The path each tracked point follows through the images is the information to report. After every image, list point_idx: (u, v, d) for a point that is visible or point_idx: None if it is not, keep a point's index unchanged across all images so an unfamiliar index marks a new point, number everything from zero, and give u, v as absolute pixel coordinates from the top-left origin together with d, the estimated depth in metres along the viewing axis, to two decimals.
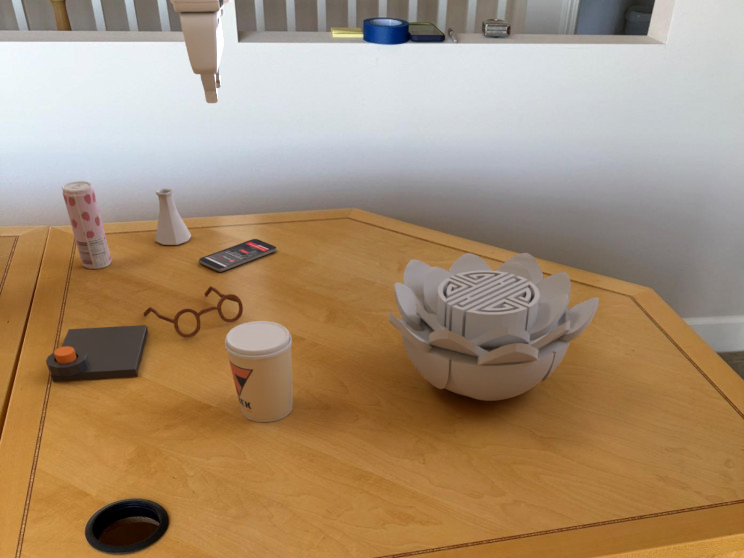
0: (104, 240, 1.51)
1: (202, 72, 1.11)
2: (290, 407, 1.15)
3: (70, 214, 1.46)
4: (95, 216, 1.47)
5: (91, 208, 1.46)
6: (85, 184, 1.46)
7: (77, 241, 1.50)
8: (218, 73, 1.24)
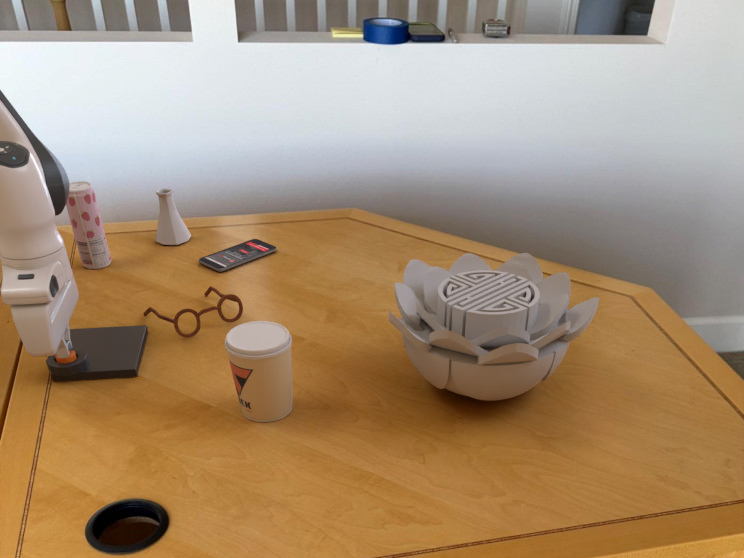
0: (104, 240, 1.51)
1: (39, 355, 1.10)
2: (290, 407, 1.15)
3: (70, 214, 1.46)
4: (95, 216, 1.47)
5: (91, 208, 1.46)
6: (85, 184, 1.46)
7: (77, 241, 1.50)
8: (67, 339, 1.20)
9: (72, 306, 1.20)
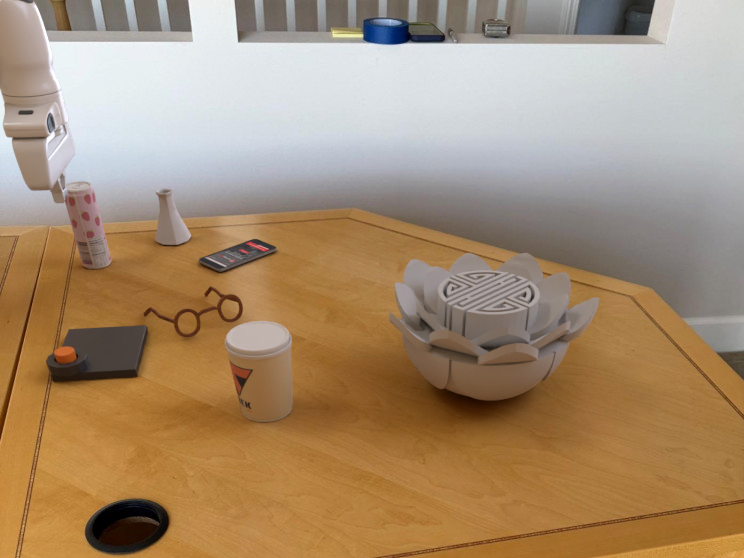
0: (104, 240, 1.51)
1: (37, 189, 1.21)
2: (290, 407, 1.15)
3: (70, 214, 1.46)
4: (95, 216, 1.47)
5: (91, 208, 1.46)
6: (85, 184, 1.46)
7: (77, 241, 1.50)
8: (64, 186, 1.31)
9: (68, 156, 1.31)
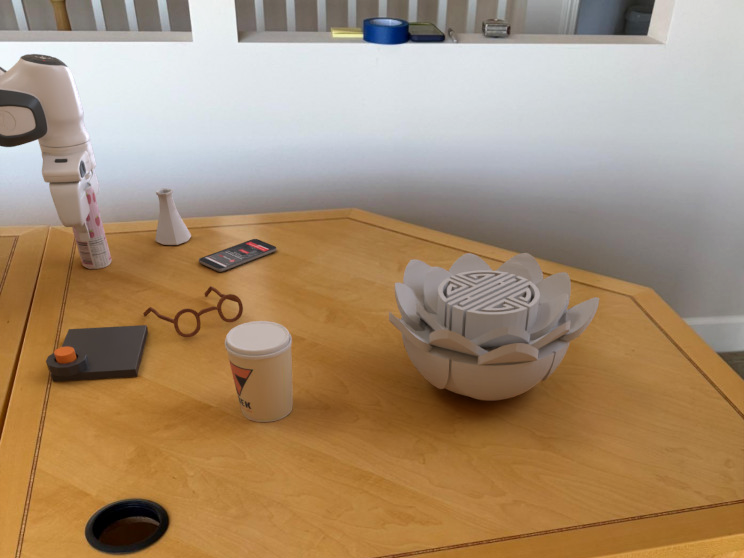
0: (104, 240, 1.51)
1: (70, 226, 1.40)
2: (290, 407, 1.15)
3: None
4: (95, 216, 1.47)
5: (91, 208, 1.46)
6: None
7: (77, 241, 1.50)
8: None
9: (95, 195, 1.50)
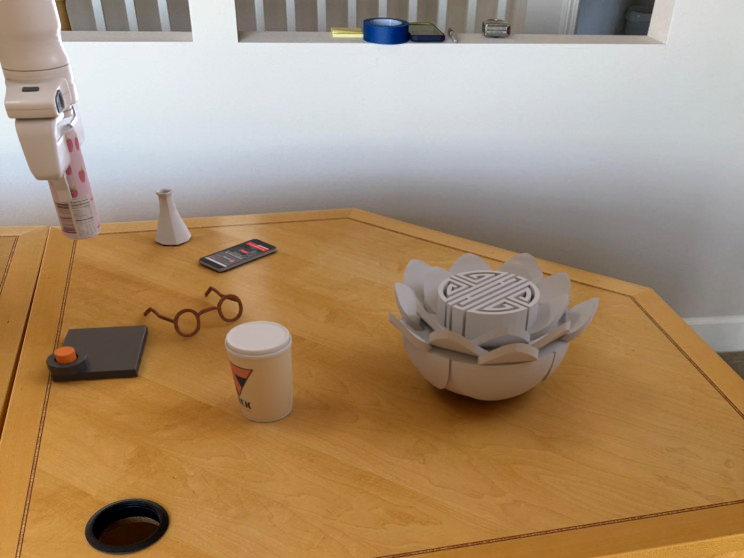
0: (91, 202, 1.16)
1: (44, 178, 1.05)
2: (290, 407, 1.15)
3: None
4: (79, 169, 1.12)
5: (73, 158, 1.11)
6: None
7: (56, 202, 1.15)
8: None
9: None
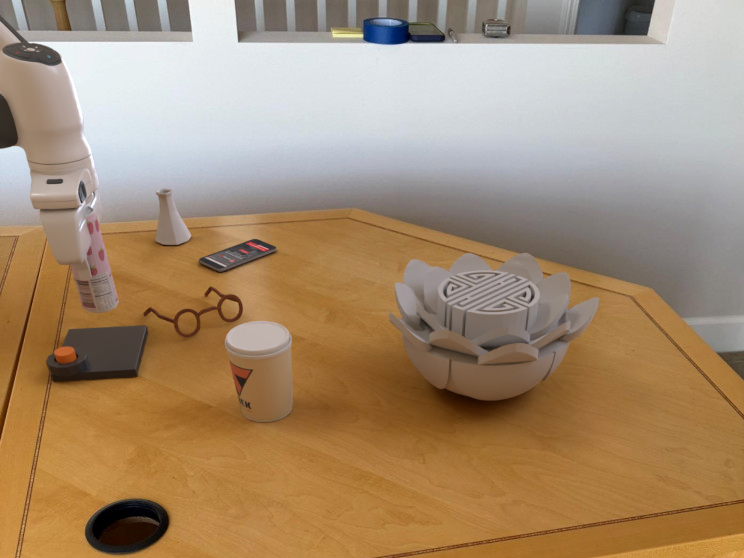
0: (110, 278, 1.21)
1: (67, 263, 1.10)
2: (290, 407, 1.15)
3: None
4: (99, 249, 1.17)
5: (93, 240, 1.16)
6: None
7: (76, 279, 1.20)
8: None
9: None
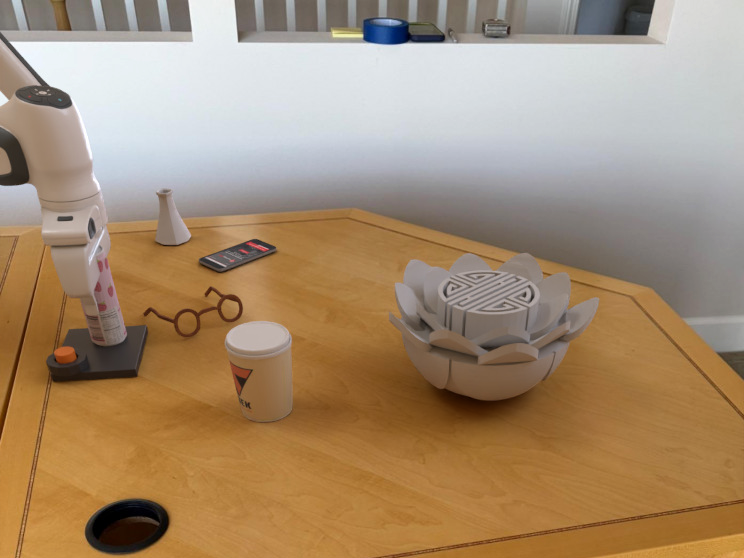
0: (118, 312, 1.25)
1: (76, 297, 1.14)
2: (290, 407, 1.15)
3: None
4: (108, 286, 1.21)
5: (103, 277, 1.20)
6: None
7: (86, 314, 1.24)
8: None
9: None
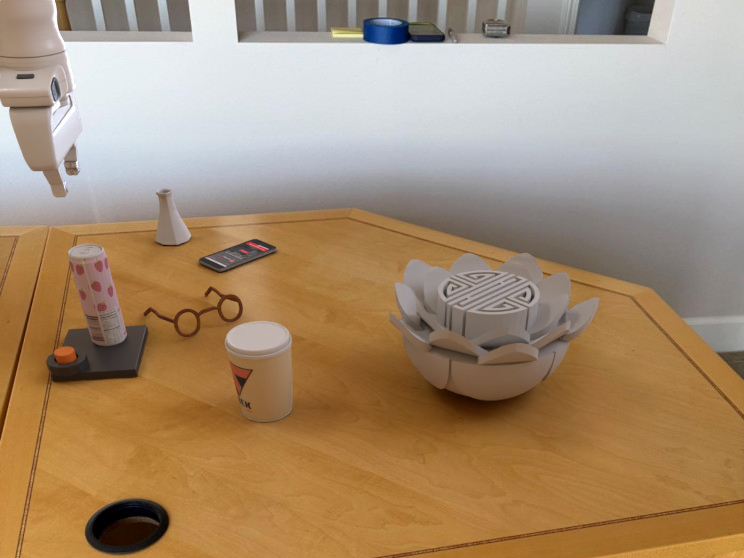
0: (118, 312, 1.25)
1: (40, 169, 1.02)
2: (290, 407, 1.15)
3: (77, 284, 1.20)
4: (108, 286, 1.21)
5: (103, 277, 1.20)
6: (96, 247, 1.20)
7: (86, 314, 1.24)
8: (75, 159, 1.15)
9: (75, 133, 1.12)
